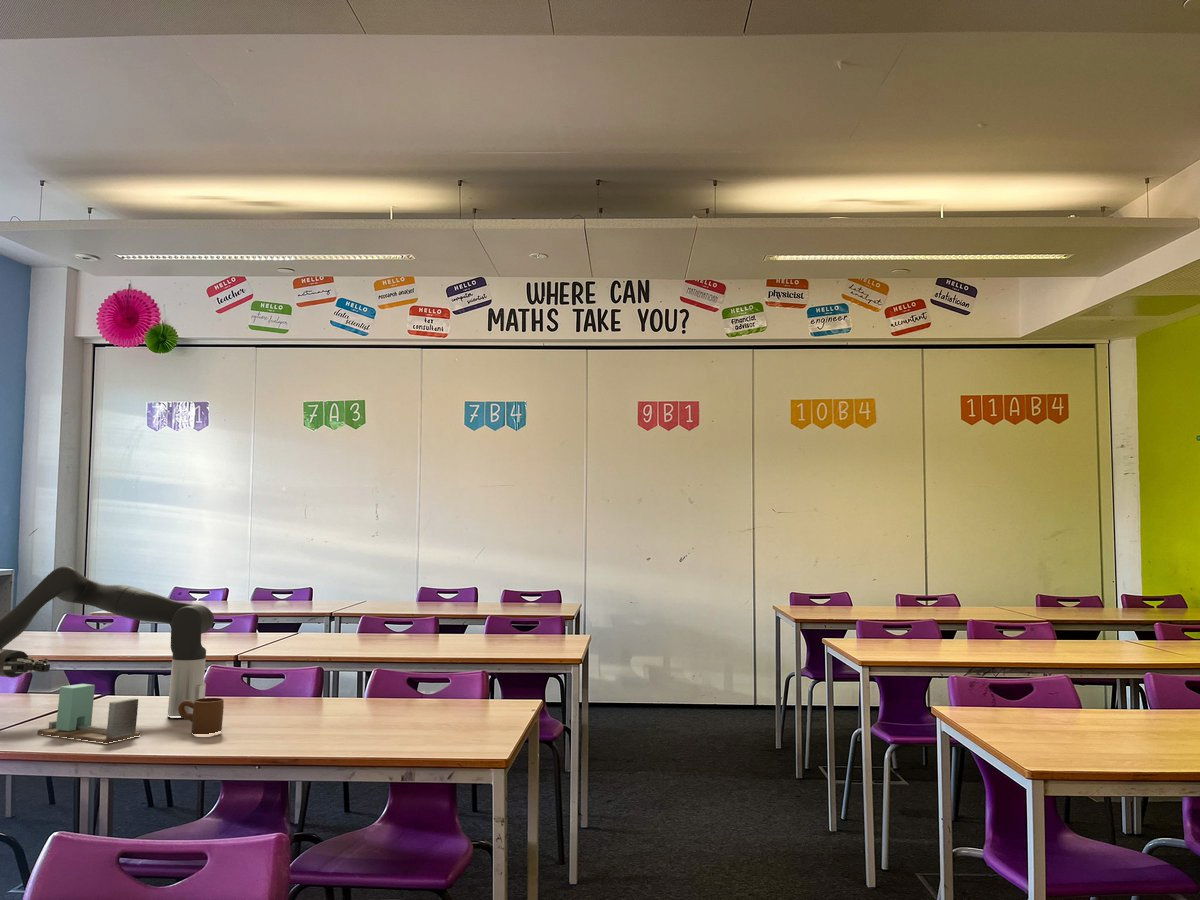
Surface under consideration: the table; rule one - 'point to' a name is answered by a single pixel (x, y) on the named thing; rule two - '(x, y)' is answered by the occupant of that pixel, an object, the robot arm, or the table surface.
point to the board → (83, 735)
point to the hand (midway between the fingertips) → (47, 668)
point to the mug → (204, 714)
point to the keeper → (75, 706)
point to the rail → (114, 720)
